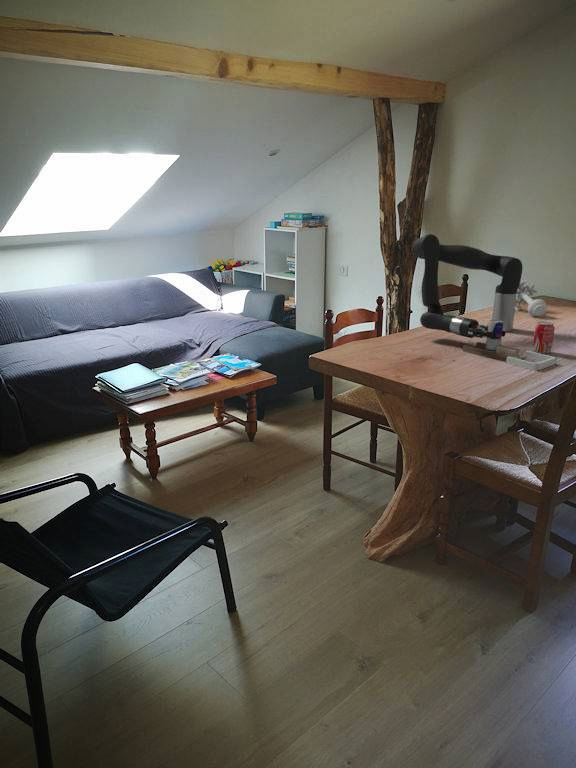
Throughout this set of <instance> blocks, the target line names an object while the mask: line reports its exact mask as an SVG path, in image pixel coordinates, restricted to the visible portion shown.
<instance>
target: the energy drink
mask: <svg viewBox="0 0 576 768" xmlns="http://www.w3.org/2000/svg"><path fill="white" fill-rule="evenodd" d="M487 325H488V332H493V333H496V334H497V337H496V339H492V338H488V337H487V338H486V340H485V341H486V342H485V343H486V349H485V350H487V351H491V352H495V353H496V347H497V346H501V344H502V330H503V321H500V320H492V319H490V320H489V322H488V324H487Z"/></svg>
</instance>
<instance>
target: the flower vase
mask: <svg viewBox="0 0 576 768" xmlns="http://www.w3.org/2000/svg"><path fill="white" fill-rule="evenodd" d="M527 281H528V278H527V279H525V280H521V281H520V286H519V288H518V290H517V294H516V302H515V312H520V311H522V312H526V309H525V308H524V307H522V306H525V305H526V303H527V304H528V305H527V313H528V315H529V316H531V317H541V316H543V315H544V314H545V313H546V311H547V303H546V301H544V300H543V299H541V298H539V299H533V298H532V296H533V294H536V293H538V291H537V290H536V289H534V287H535V283H531V284H530V283H529V282H527ZM525 284H526V285H525ZM524 285H525V286H524ZM517 302H519V303H518V306H517ZM521 305H522V306H521Z"/></svg>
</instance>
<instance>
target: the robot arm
mask: <svg viewBox="0 0 576 768" xmlns="http://www.w3.org/2000/svg"><path fill="white" fill-rule="evenodd" d="M411 251H412V253H413V255H414V256H415V257H416V258H418V259H421V260H424V273H423V276H422V281H421V301H422V305H423V306H424V307H426V308H427V309H428V311H425V312H423V313H422V314H421V315H420V319H419V320H420V325H422V327H424V328H425V329H429V330H438V331H443V332H445V333H451V334H454V335H456V336H461V337H465V338H468V339H472V338H479V339H483V338H485V339H487V337H488V338H492V339H496V337H497V334H496V333H493V332H488V325H489V324H487V325H485V324H479V321H478V320H476V319H474V318H473V319H472V318H468V317H464V316H456V315H455V316H454V315H450V314H444V312H443V308H442V305H441V302H440V294H439V284H438V283H439V278H438V277H439V262H442V263H445V264H449V265H453V266H456V267H459V268H464V269H469V270H476V271H477V270H478V271H482V270H483V271H487V272H490V273H492V274H495V275H496V276H499V277H501V282H500V284H498V285H496V286H495V291H494V301H493V309H492V314H491V320H500V321H503V330H502V337H503V338H504V337H506V332H511V331H512V330H513V328H514V322H515V313H516V309H515V302H516V299H517V295H518V294H517V290H518V291H519V289H518V288H519V286H520V282H521V281H522V280H521V279H522V274H523V262H522V261H521V259H519V258H518V257H513V256H508V255H496V254H491V253H488V252H486V251H483V250H482V249H479V248H476V247H472V246H468V245H463V244H441V243H440V240H439V238H438V237H437V236H436V235H435V234H432V233H428V234H425V235H423V236H421V237H419V238H417V239H415V240H414V241H413V242H412V245H411Z"/></svg>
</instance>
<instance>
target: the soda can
mask: <svg viewBox="0 0 576 768" xmlns="http://www.w3.org/2000/svg"><path fill="white" fill-rule="evenodd" d="M533 334H534V335H533V340H532V352H534V351H535V352H536V353H542V354H544V355H546V354H545V353H547V354H549V353H551V352H552V347H553V343H554V342H553V341H554V335H555V326H554V322H551V321H543V320H542V321H538V322H537V324H536V326H535V329H534V333H533Z"/></svg>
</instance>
